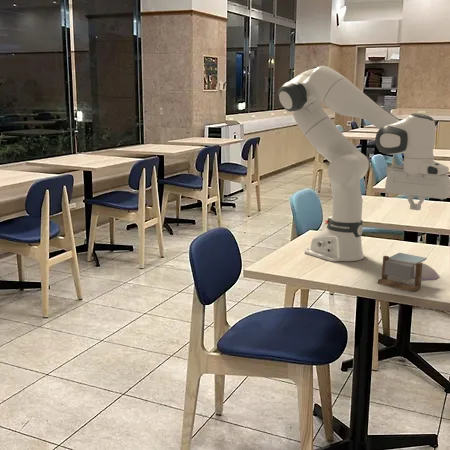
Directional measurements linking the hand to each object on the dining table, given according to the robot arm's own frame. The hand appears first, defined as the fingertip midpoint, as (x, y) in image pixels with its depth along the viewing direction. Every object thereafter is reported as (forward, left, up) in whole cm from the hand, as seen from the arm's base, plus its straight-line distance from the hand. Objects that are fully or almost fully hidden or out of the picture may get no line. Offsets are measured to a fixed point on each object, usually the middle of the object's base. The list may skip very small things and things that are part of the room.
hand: (415, 209), depth 184 cm
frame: (-1, -7, -24) cm, 25 cm away
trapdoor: (-1, -3, -21) cm, 21 cm away
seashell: (+1, +9, -25) cm, 26 cm away
